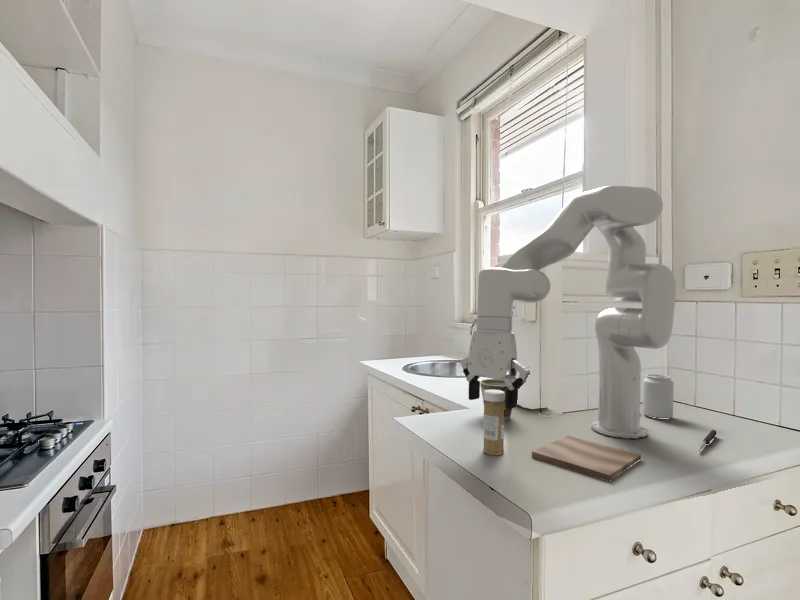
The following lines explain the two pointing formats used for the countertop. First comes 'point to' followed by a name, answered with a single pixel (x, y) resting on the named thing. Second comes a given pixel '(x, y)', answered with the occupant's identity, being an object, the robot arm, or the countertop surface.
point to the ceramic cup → (496, 385)
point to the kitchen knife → (708, 438)
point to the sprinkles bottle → (493, 422)
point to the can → (658, 396)
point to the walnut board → (587, 457)
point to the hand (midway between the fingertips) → (491, 403)
